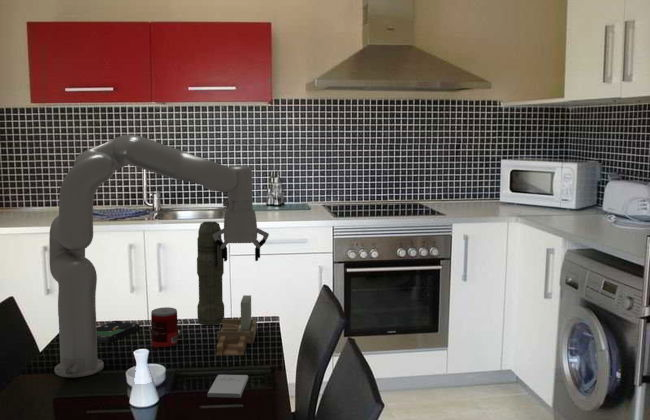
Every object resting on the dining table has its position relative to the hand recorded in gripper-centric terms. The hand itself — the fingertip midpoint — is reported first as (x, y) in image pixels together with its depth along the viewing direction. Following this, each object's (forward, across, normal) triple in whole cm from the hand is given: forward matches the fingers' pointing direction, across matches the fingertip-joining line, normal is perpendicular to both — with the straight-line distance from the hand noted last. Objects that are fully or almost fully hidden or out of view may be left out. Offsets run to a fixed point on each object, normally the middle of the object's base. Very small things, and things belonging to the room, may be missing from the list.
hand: (241, 260), depth 201 cm
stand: (+25, -2, -13) cm, 28 cm away
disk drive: (+26, -42, +5) cm, 50 cm away
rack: (+25, -2, 0) cm, 25 cm away
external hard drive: (+26, 0, -39) cm, 47 cm away
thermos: (+26, -12, +16) cm, 32 cm away
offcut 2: (+24, -4, +3) cm, 25 cm away
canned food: (+25, -23, -6) cm, 35 cm away
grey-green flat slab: (+24, +1, 0) cm, 24 cm away
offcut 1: (+22, -4, -3) cm, 23 cm away
